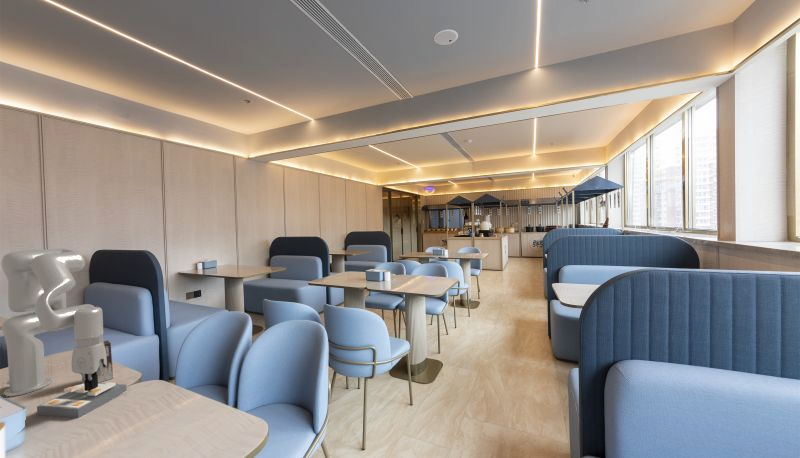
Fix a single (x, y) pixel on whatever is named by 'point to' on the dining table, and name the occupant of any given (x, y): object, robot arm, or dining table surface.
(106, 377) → the coffee box
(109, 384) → the rocker
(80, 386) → the rocker
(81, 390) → the rocker
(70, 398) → the switch unit
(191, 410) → the dining table surface
